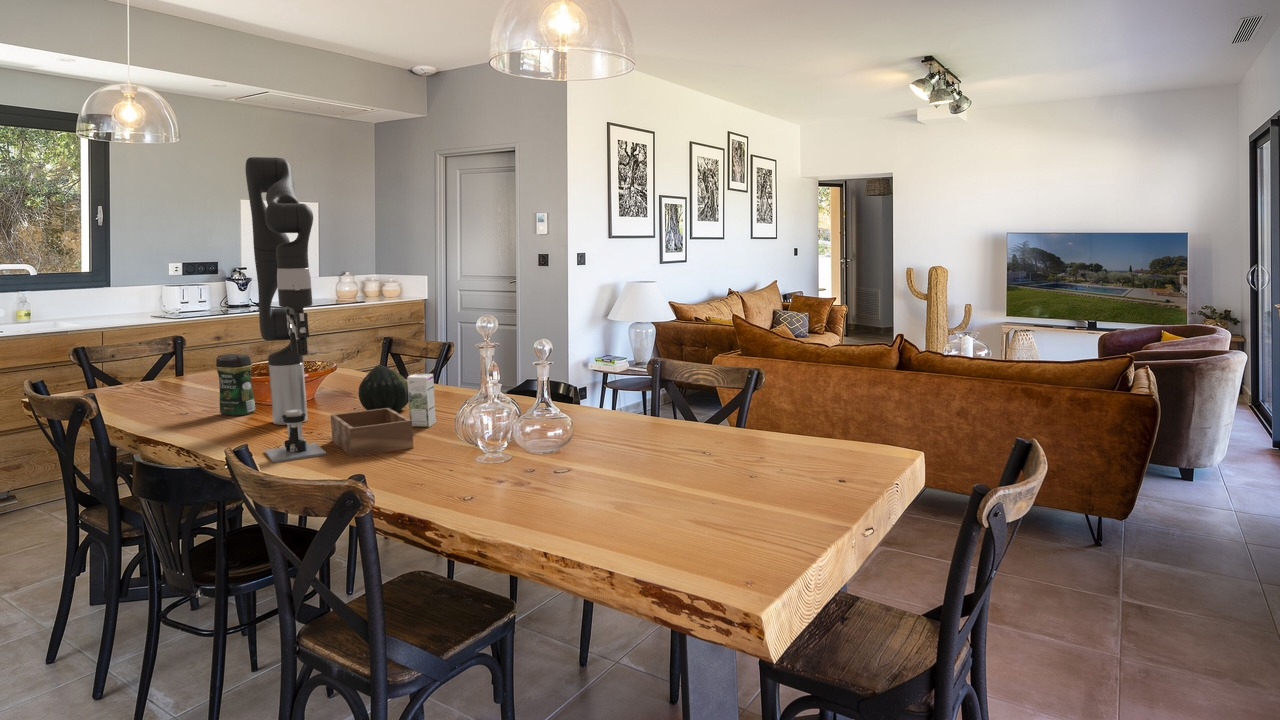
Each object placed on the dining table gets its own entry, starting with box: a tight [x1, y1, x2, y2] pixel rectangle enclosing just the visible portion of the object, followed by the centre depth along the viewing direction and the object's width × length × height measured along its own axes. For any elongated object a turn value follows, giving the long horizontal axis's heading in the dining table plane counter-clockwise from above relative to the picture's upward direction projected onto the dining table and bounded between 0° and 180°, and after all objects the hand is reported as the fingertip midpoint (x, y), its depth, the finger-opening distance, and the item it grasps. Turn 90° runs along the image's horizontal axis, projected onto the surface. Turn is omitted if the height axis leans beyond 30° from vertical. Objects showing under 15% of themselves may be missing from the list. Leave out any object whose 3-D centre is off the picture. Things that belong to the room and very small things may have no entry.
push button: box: [280, 410, 307, 452], centre depth 194 cm, size 7×5×10 cm
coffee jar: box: [215, 353, 256, 417], centre depth 242 cm, size 10×8×19 cm
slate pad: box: [264, 442, 327, 464], centre depth 194 cm, size 12×12×1 cm
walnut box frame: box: [330, 408, 414, 458], centre depth 202 cm, size 20×15×7 cm
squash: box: [358, 364, 409, 413], centre depth 244 cm, size 14×15×15 cm
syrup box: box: [406, 373, 437, 428], centre depth 223 cm, size 6×6×14 cm
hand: (299, 352), depth 194 cm, fingers open, 8 cm apart
